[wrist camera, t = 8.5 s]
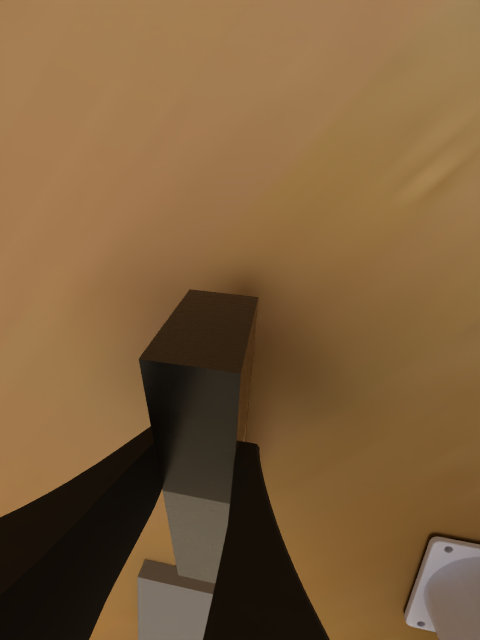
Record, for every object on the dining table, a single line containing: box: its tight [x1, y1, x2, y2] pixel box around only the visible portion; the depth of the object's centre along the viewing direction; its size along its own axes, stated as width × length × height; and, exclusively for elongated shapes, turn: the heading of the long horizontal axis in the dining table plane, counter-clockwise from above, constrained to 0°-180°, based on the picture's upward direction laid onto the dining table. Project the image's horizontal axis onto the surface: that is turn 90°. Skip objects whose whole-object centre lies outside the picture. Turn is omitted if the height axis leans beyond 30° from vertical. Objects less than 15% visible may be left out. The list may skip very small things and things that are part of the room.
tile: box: [138, 559, 215, 640], centre depth 23 cm, size 8×2×8 cm
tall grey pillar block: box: [139, 290, 258, 584], centre depth 12 cm, size 14×2×4 cm, turn 175°
